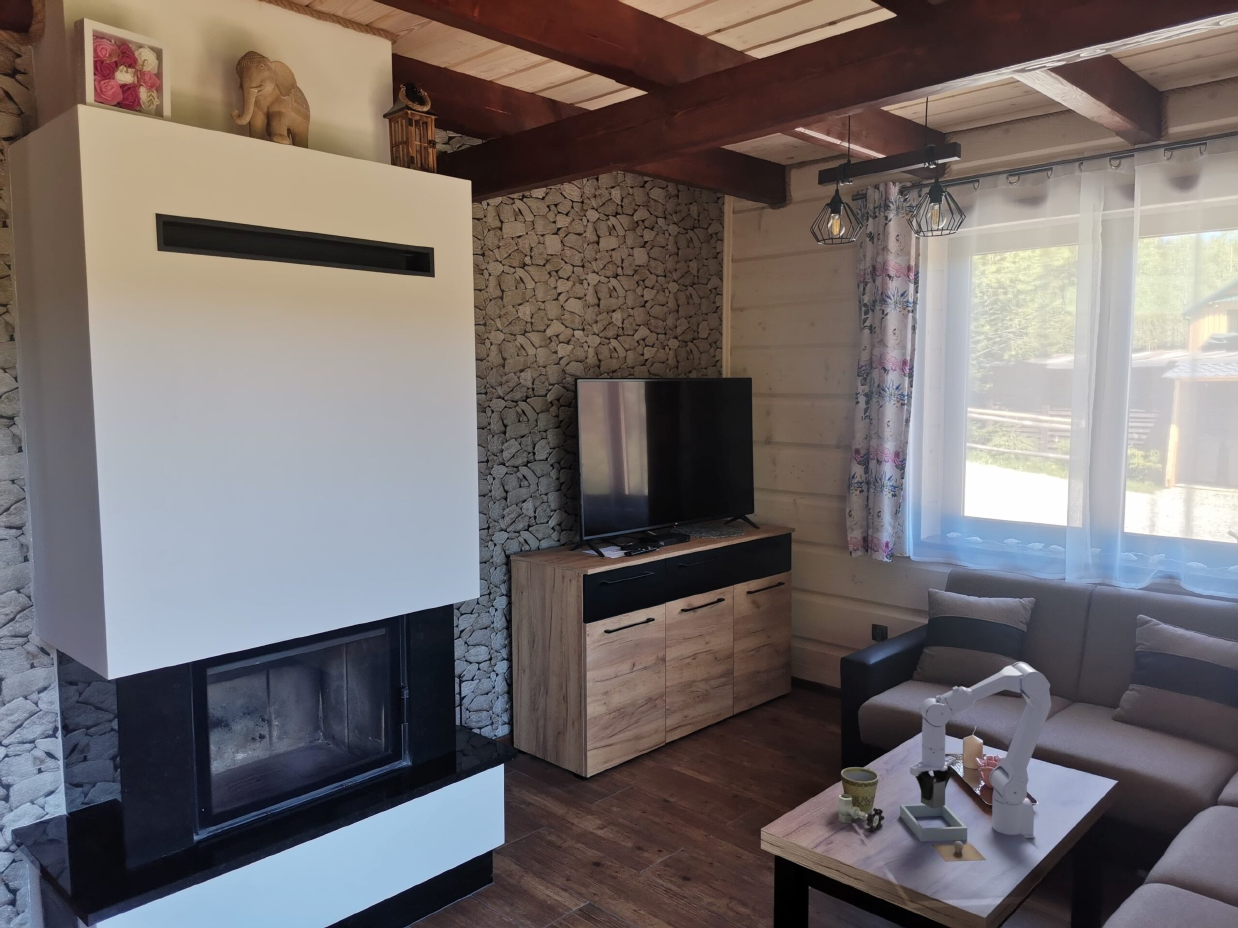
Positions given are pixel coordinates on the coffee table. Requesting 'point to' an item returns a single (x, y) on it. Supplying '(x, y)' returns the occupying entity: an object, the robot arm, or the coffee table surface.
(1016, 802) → the robot arm
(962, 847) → the stud block
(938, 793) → the grey rectangular block
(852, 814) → the valve
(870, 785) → the ceramic cup
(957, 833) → the bin
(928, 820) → the coffee table surface
